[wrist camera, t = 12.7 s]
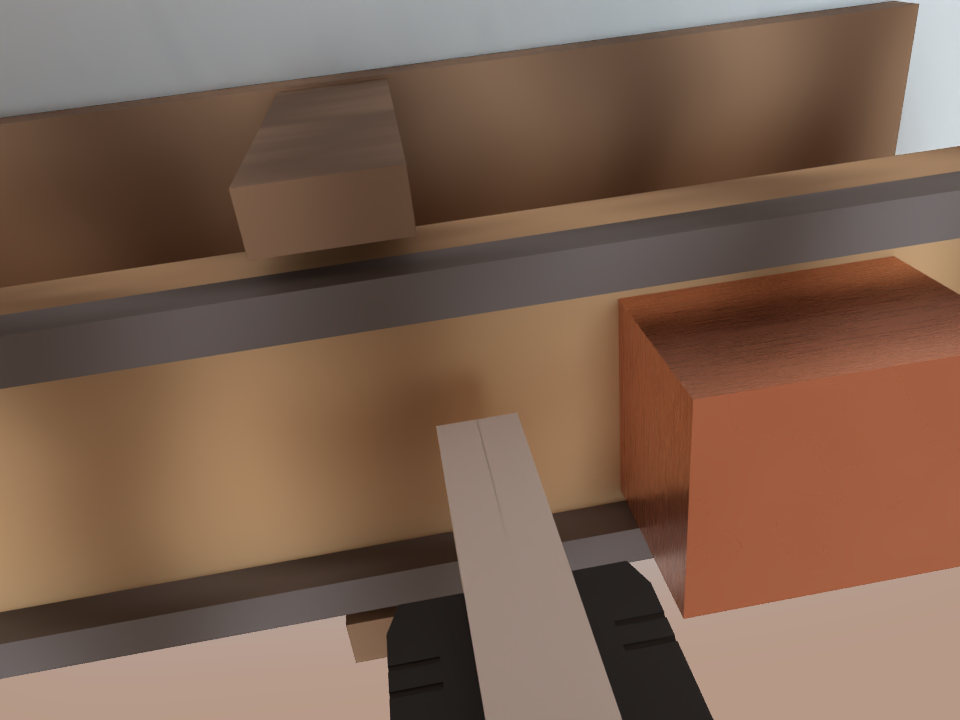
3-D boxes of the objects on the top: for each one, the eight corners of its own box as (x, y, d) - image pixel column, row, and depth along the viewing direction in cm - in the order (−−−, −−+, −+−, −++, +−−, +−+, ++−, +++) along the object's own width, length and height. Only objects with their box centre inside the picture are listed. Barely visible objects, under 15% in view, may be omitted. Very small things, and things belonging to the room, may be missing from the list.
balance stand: (-90, 500, 27) (-319, 791, 18) (-295, 156, 21) (-798, 326, 12) (843, 347, 29) (1064, 533, 20) (894, 1, 23) (1239, 41, 14)
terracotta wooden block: (620, 489, 18) (683, 618, 15) (617, 298, 16) (693, 399, 12) (860, 447, 19) (975, 563, 15) (894, 255, 16) (1040, 341, 13)
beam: (-257, 647, 19) (-375, 785, 16) (-497, 361, 15) (-717, 471, 12) (982, 427, 21) (1089, 509, 18) (1059, 131, 17) (1212, 172, 14)
